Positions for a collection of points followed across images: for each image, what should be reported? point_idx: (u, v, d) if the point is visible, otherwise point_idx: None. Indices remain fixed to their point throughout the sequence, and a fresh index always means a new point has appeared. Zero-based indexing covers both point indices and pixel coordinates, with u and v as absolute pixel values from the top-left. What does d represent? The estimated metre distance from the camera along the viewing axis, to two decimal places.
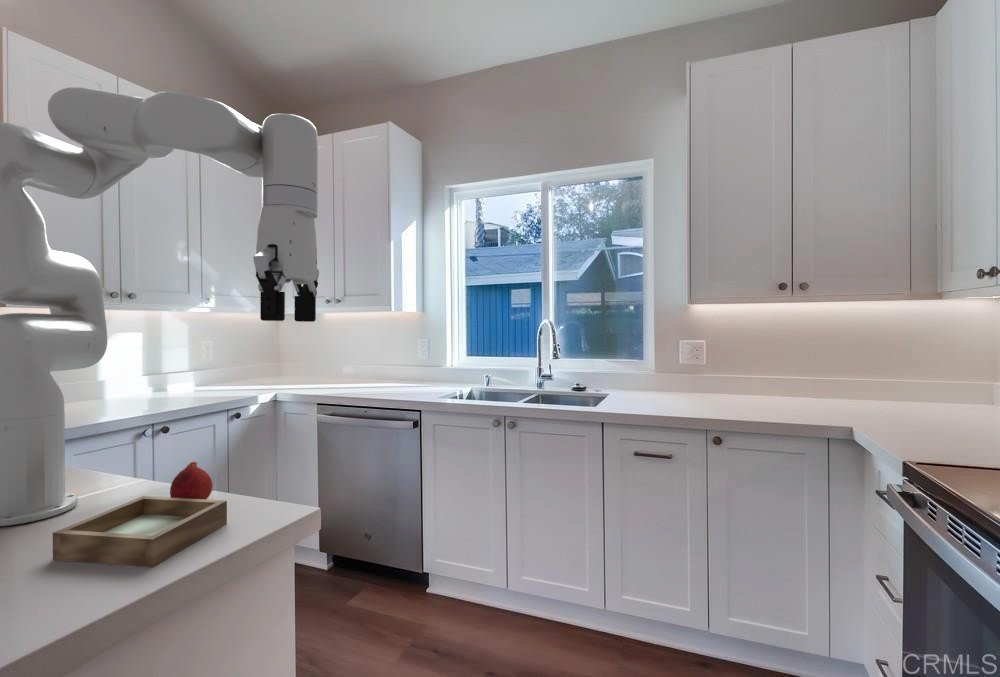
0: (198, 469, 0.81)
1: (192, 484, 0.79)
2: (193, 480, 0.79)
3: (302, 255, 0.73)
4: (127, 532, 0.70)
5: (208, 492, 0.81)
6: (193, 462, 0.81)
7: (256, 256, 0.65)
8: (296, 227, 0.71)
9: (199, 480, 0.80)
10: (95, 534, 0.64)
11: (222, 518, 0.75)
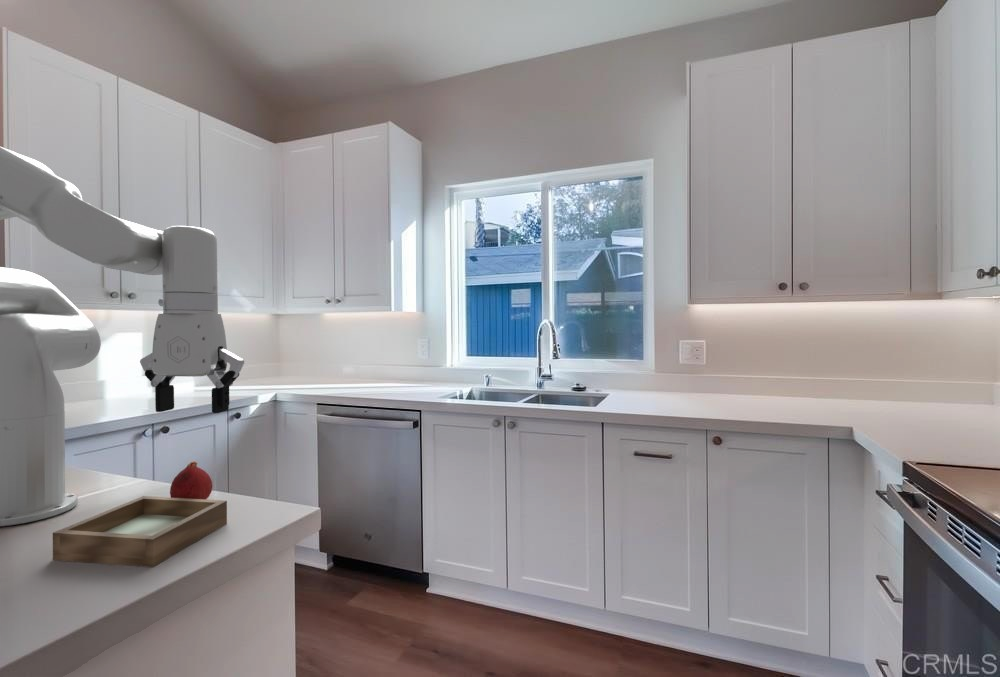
0: (198, 469, 0.81)
1: (192, 484, 0.79)
2: (193, 480, 0.79)
3: None
4: (127, 532, 0.70)
5: (208, 492, 0.81)
6: (193, 462, 0.81)
7: (240, 360, 0.80)
8: None
9: (199, 480, 0.80)
10: (95, 534, 0.64)
11: (222, 518, 0.75)
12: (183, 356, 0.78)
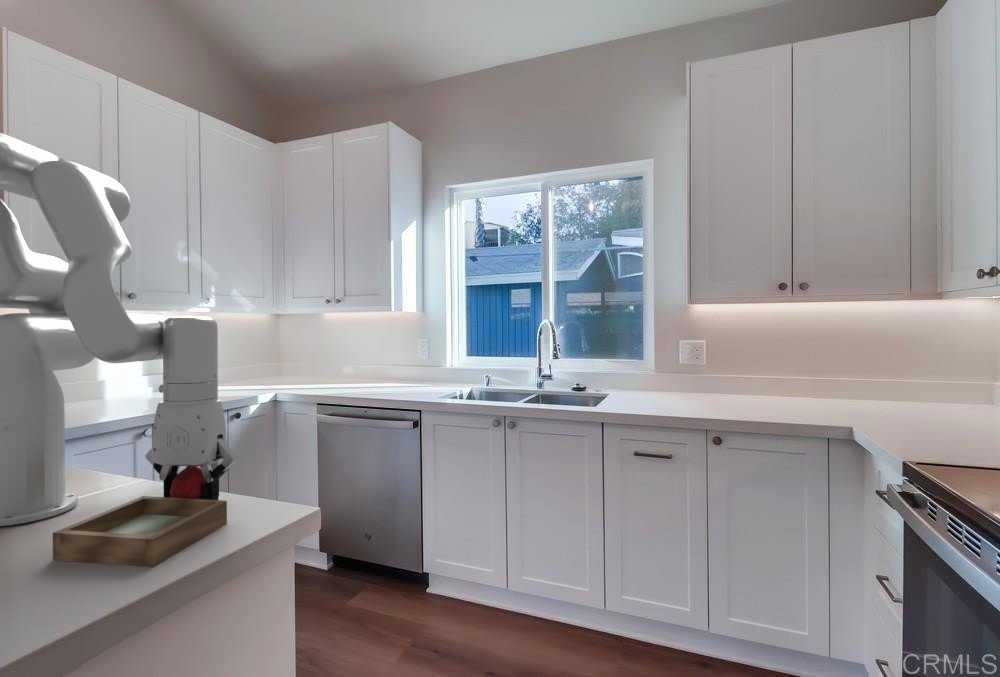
0: (198, 469, 0.81)
1: (192, 484, 0.79)
2: (193, 480, 0.79)
3: None
4: (127, 532, 0.70)
5: None
6: None
7: (234, 459, 0.80)
8: None
9: (200, 480, 0.80)
10: (95, 534, 0.64)
11: (222, 518, 0.75)
12: (182, 446, 0.78)
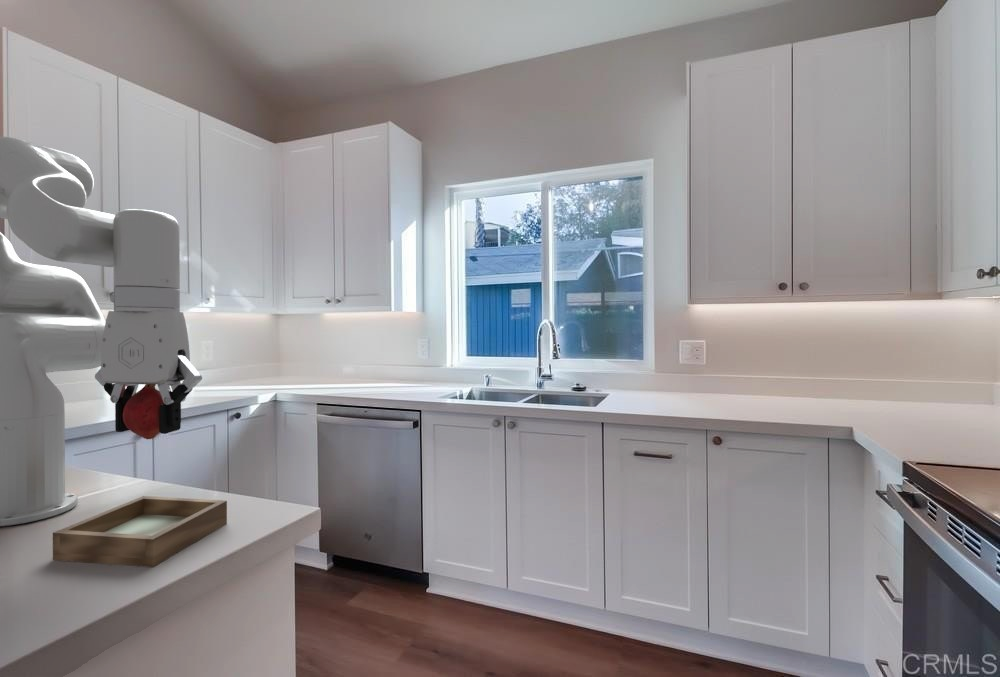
0: (157, 391, 0.70)
1: (148, 406, 0.68)
2: (150, 402, 0.68)
3: None
4: (127, 532, 0.70)
5: None
6: None
7: (197, 377, 0.69)
8: None
9: (158, 402, 0.69)
10: (95, 534, 0.64)
11: (222, 518, 0.75)
12: (136, 360, 0.67)
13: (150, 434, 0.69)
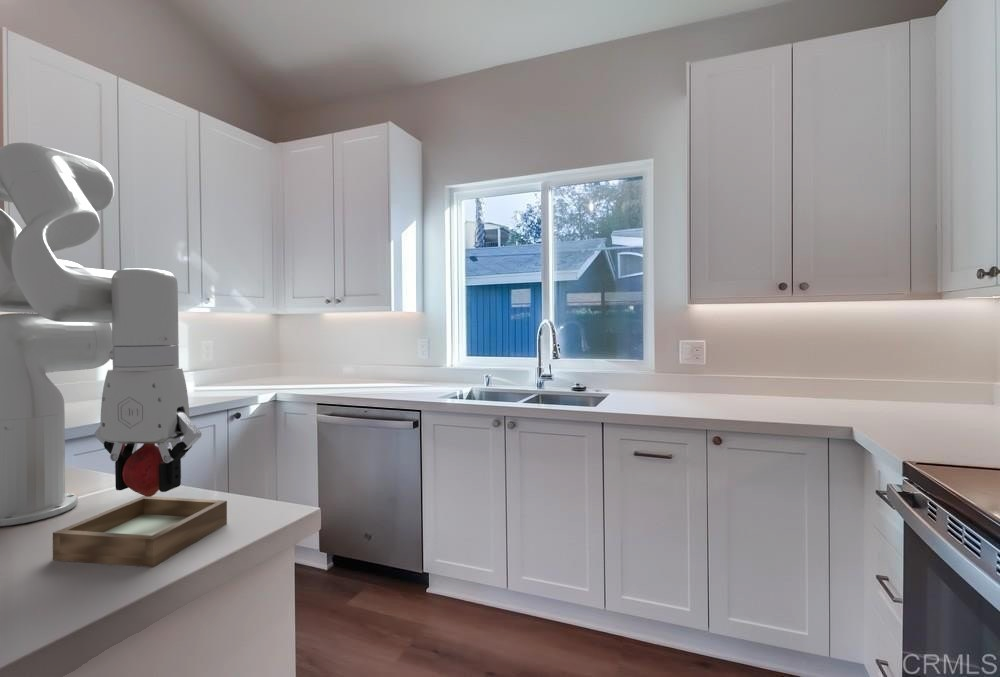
0: (156, 448, 0.70)
1: (148, 465, 0.68)
2: (149, 460, 0.68)
3: None
4: (127, 532, 0.70)
5: None
6: None
7: (196, 435, 0.69)
8: None
9: (157, 460, 0.69)
10: (95, 534, 0.64)
11: (222, 518, 0.75)
12: (135, 420, 0.67)
13: (150, 492, 0.69)
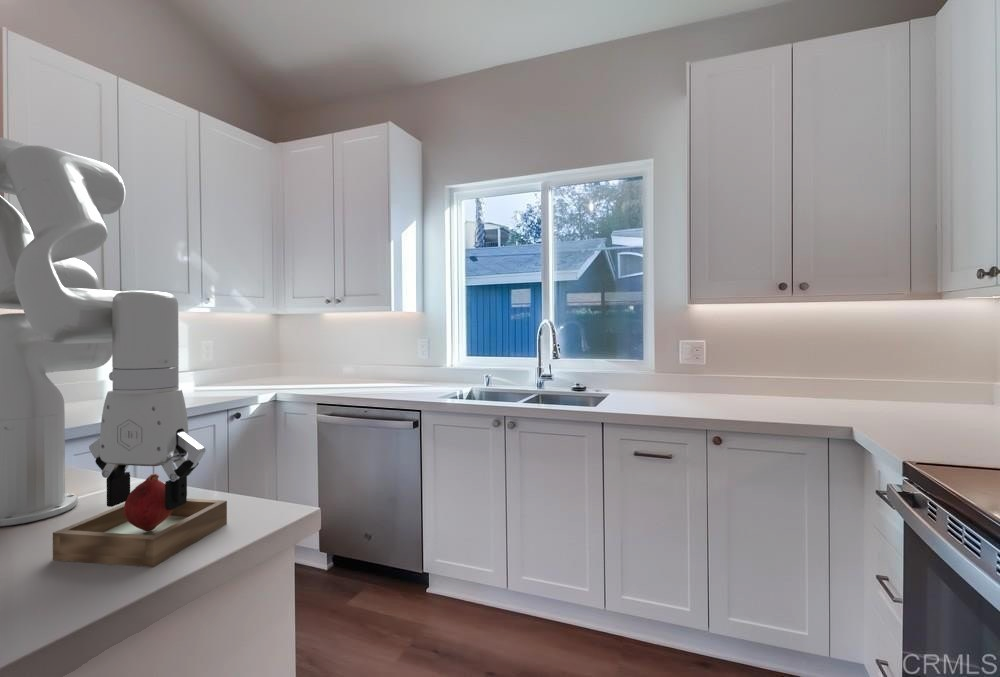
0: (159, 483, 0.70)
1: (150, 501, 0.68)
2: (152, 496, 0.68)
3: None
4: (127, 532, 0.70)
5: (169, 511, 0.70)
6: (154, 475, 0.70)
7: (200, 450, 0.69)
8: None
9: (159, 496, 0.69)
10: (95, 534, 0.64)
11: (222, 518, 0.75)
12: (134, 442, 0.67)
13: (150, 527, 0.69)
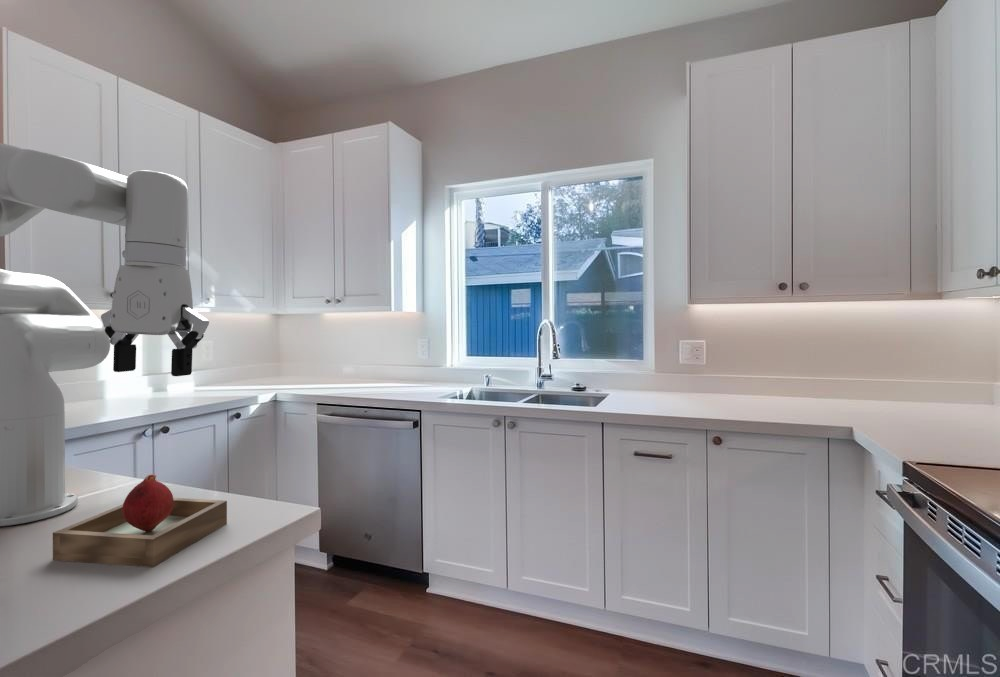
0: (157, 483, 0.70)
1: (147, 501, 0.68)
2: (149, 496, 0.68)
3: None
4: (127, 532, 0.70)
5: (167, 510, 0.70)
6: (152, 475, 0.70)
7: (204, 320, 0.73)
8: None
9: (157, 496, 0.69)
10: (95, 534, 0.64)
11: (222, 518, 0.75)
12: (142, 312, 0.72)
13: (149, 527, 0.69)
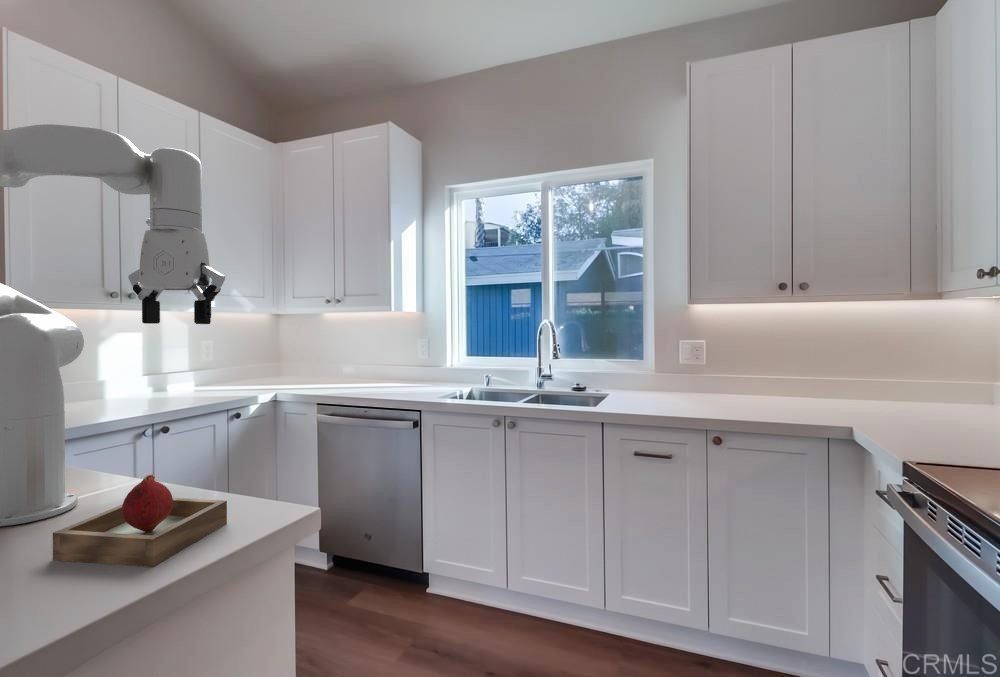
0: (156, 483, 0.70)
1: (147, 501, 0.68)
2: (148, 497, 0.68)
3: None
4: (127, 532, 0.70)
5: (167, 510, 0.70)
6: (150, 476, 0.70)
7: (221, 275, 0.85)
8: None
9: (156, 496, 0.69)
10: (95, 534, 0.64)
11: (222, 518, 0.75)
12: (168, 269, 0.84)
13: (149, 528, 0.69)
